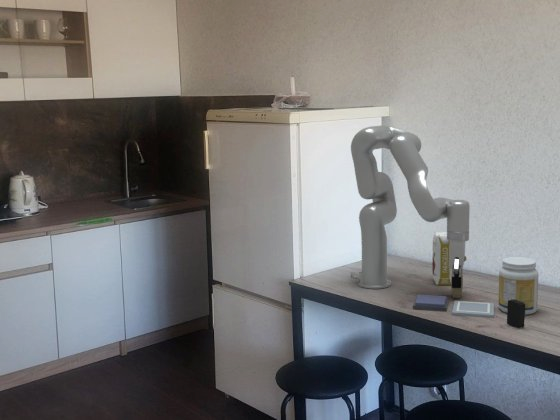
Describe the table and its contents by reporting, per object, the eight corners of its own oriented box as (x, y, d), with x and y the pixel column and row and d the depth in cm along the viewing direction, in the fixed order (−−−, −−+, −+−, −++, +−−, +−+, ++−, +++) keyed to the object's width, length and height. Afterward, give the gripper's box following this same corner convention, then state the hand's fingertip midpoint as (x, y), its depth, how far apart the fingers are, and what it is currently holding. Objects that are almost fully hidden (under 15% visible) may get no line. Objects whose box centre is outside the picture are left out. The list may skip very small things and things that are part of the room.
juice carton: (451, 279, 261) (452, 231, 257) (454, 285, 252) (455, 236, 249) (431, 279, 261) (432, 231, 258) (434, 285, 253) (435, 236, 250)
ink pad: (412, 309, 227) (412, 303, 226) (416, 299, 237) (416, 293, 237) (446, 311, 223) (446, 305, 223) (448, 301, 234) (448, 295, 233)
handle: (458, 300, 234) (458, 259, 232) (445, 296, 240) (445, 255, 237) (468, 298, 236) (469, 257, 234) (455, 294, 242) (456, 253, 239)
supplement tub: (506, 302, 231) (507, 254, 228) (542, 308, 224) (544, 259, 221) (492, 311, 222) (493, 261, 219) (529, 318, 214) (531, 267, 211)
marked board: (452, 314, 220) (452, 311, 220) (454, 302, 232) (454, 300, 232) (493, 317, 216) (493, 314, 216) (493, 305, 228) (493, 302, 228)
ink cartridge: (524, 327, 206) (525, 302, 205) (519, 329, 205) (520, 304, 204) (511, 322, 211) (513, 298, 209) (506, 324, 210) (507, 299, 208)
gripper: (448, 230, 244) (447, 277, 247) (445, 240, 227) (444, 291, 230) (469, 230, 241) (468, 279, 244) (468, 241, 225) (467, 292, 228)
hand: (457, 284), depth 237 cm, fingers open, 6 cm apart
